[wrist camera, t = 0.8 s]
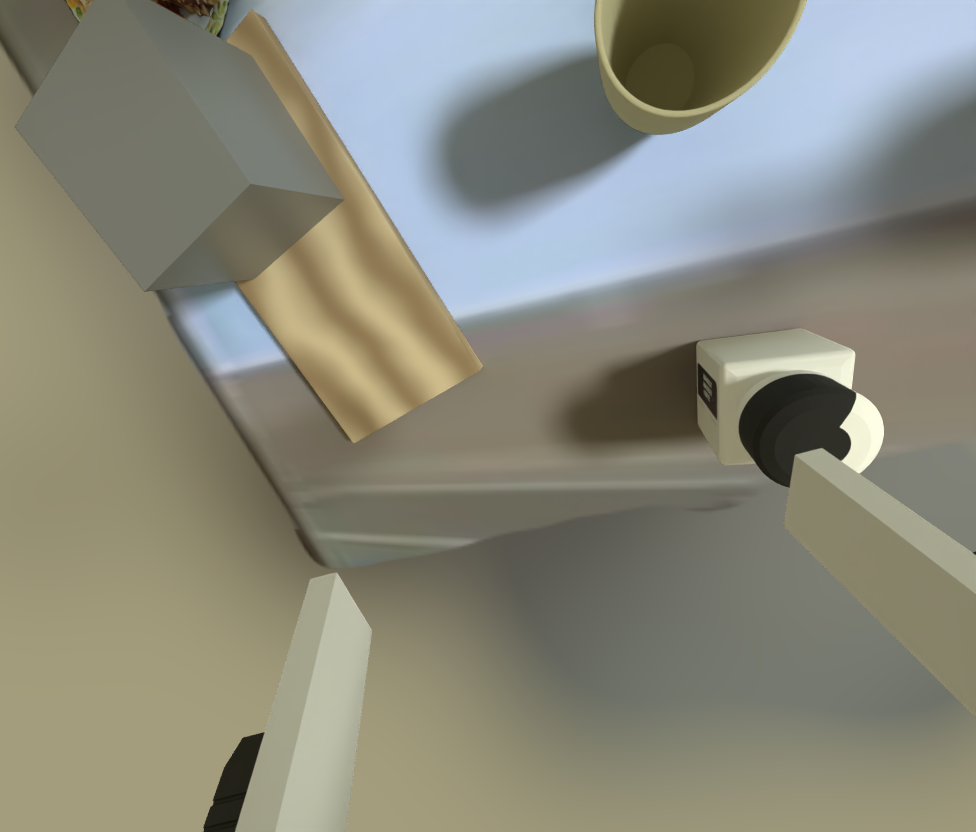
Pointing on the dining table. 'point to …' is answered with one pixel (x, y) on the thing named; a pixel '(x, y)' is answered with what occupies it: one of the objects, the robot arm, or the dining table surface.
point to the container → (783, 402)
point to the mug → (686, 55)
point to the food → (172, 10)
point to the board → (351, 282)
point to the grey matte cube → (175, 148)
